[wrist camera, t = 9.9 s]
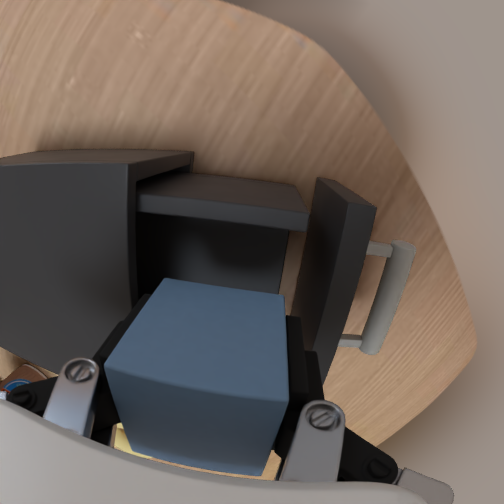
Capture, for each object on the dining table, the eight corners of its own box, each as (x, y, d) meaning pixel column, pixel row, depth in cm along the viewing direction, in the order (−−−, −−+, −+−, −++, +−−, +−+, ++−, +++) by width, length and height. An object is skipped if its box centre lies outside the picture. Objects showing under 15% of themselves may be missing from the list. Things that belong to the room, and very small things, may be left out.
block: (284, 294, 11) (290, 400, 6) (266, 379, 12) (261, 477, 8) (164, 276, 11) (101, 364, 6) (167, 363, 12) (131, 451, 8)
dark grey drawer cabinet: (194, 151, 18) (128, 163, 9) (186, 315, 23) (147, 404, 14) (36, 151, 19) (-51, 170, 10) (47, 284, 23) (-15, 338, 14)
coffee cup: (77, 398, 29) (38, 464, 18) (56, 413, 32) (24, 467, 21) (21, 342, 27) (-31, 400, 16) (8, 367, 30) (-31, 416, 19)
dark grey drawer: (394, 192, 18) (459, 226, 10) (354, 335, 22) (379, 409, 14) (129, 158, 18) (56, 173, 11) (133, 305, 22) (87, 368, 15)
